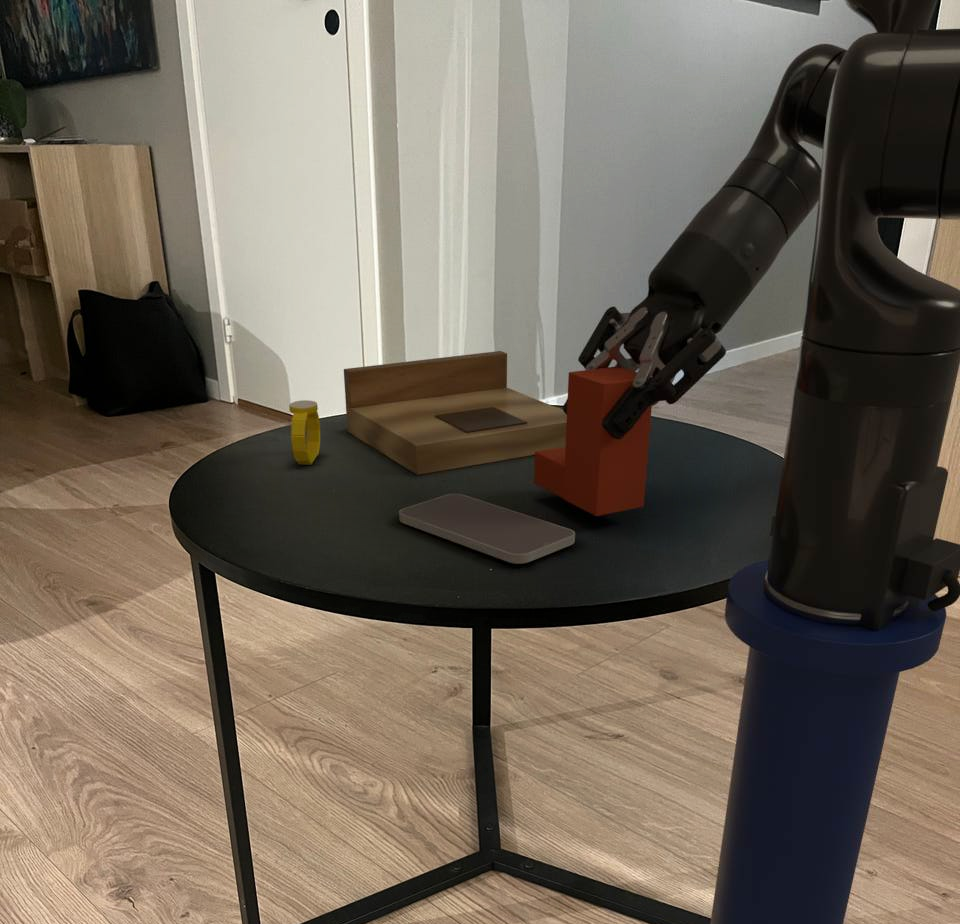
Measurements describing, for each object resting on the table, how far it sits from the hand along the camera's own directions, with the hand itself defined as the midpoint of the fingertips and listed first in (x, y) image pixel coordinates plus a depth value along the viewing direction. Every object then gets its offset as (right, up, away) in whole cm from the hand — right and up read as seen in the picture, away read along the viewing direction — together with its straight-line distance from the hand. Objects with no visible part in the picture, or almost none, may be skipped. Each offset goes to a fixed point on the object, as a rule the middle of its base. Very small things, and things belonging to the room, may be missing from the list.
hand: (589, 423), depth 81 cm
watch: (-27, 0, +20) cm, 34 cm away
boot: (0, -5, +6) cm, 8 cm away
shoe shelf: (-11, +4, +27) cm, 30 cm away
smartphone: (-9, -9, +2) cm, 13 cm away
